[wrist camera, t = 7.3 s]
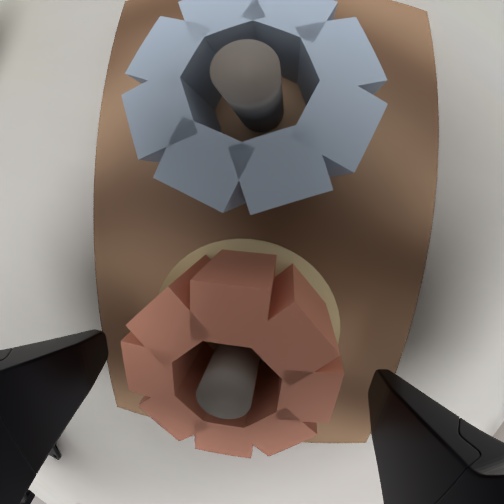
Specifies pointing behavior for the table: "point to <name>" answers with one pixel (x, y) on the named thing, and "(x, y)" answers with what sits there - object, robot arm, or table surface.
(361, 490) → the table surface
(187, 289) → the gear
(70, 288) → the table surface
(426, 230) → the gear board
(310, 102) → the gear
